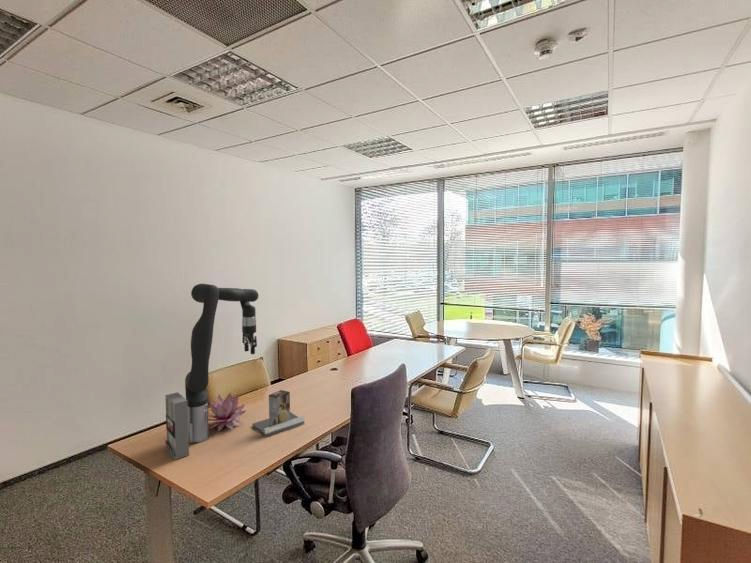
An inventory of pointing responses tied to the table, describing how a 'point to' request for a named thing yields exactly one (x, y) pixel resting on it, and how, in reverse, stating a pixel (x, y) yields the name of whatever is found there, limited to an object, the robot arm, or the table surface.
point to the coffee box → (279, 407)
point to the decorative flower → (225, 412)
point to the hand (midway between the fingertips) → (249, 352)
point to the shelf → (278, 425)
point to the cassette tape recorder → (177, 425)
